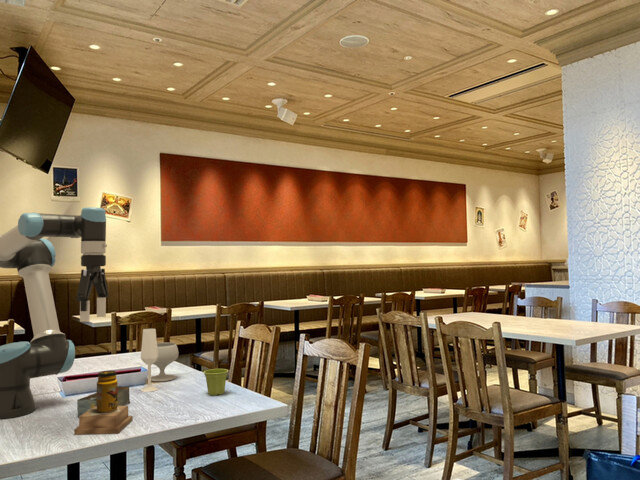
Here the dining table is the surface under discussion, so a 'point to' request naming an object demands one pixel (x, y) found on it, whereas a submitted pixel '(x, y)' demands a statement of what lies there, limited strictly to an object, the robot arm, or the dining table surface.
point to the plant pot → (216, 381)
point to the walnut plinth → (103, 430)
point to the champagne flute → (149, 354)
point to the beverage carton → (91, 400)
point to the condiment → (106, 394)
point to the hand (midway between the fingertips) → (93, 319)
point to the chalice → (165, 360)
